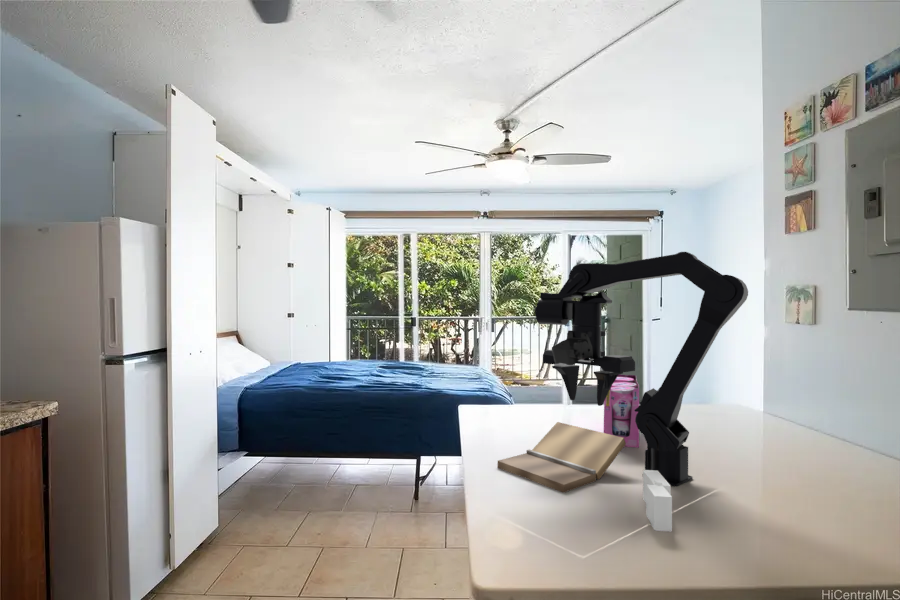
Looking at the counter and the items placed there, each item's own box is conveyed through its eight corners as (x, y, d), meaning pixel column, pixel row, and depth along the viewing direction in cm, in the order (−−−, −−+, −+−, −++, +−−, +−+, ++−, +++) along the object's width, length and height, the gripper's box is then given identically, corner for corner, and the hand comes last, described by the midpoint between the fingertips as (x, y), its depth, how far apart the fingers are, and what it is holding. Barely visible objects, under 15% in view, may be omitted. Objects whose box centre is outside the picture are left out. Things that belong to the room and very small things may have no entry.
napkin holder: (639, 494, 84) (639, 461, 84) (710, 515, 76) (710, 478, 76) (593, 520, 74) (593, 482, 74) (670, 548, 65) (670, 505, 65)
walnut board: (595, 481, 88) (595, 470, 88) (563, 493, 83) (563, 480, 83) (529, 459, 101) (529, 449, 101) (497, 468, 95) (497, 457, 95)
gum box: (640, 450, 108) (640, 389, 108) (602, 447, 111) (602, 386, 111) (636, 425, 131) (636, 374, 131) (605, 423, 133) (605, 373, 134)
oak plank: (625, 443, 94) (623, 437, 94) (599, 479, 89) (596, 473, 88) (559, 427, 107) (557, 421, 106) (532, 457, 101) (530, 452, 101)
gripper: (525, 324, 102) (524, 399, 102) (602, 328, 88) (601, 416, 87) (559, 323, 109) (559, 394, 109) (637, 327, 94) (636, 408, 94)
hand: (585, 402), depth 100 cm, fingers open, 6 cm apart
